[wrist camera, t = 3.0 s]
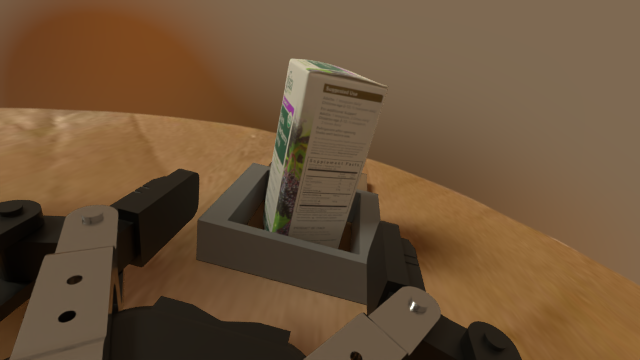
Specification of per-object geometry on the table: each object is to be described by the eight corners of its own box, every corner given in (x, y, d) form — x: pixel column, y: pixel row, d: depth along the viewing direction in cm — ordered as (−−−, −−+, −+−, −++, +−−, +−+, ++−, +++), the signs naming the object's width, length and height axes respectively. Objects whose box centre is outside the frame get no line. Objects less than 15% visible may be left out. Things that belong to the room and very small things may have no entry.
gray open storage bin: (196, 259, 21) (197, 219, 20) (249, 192, 31) (253, 162, 30) (370, 305, 21) (385, 268, 19) (368, 222, 31) (377, 194, 29)
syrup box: (260, 219, 27) (284, 54, 21) (319, 219, 30) (356, 69, 23) (269, 262, 23) (304, 66, 16) (339, 258, 25) (393, 83, 19)
